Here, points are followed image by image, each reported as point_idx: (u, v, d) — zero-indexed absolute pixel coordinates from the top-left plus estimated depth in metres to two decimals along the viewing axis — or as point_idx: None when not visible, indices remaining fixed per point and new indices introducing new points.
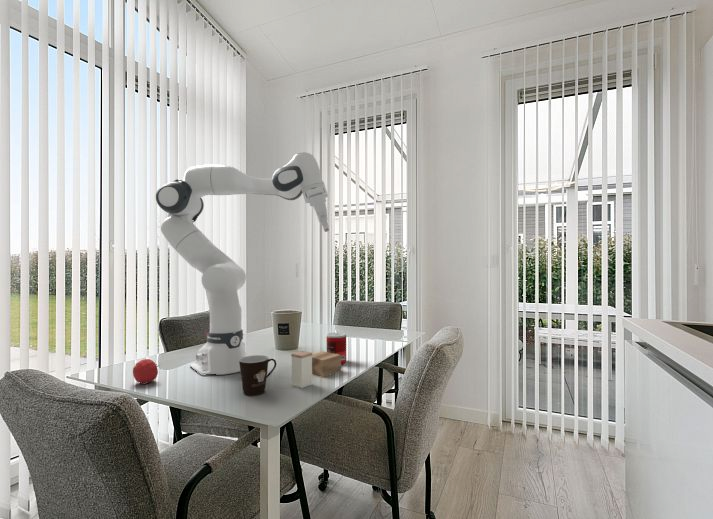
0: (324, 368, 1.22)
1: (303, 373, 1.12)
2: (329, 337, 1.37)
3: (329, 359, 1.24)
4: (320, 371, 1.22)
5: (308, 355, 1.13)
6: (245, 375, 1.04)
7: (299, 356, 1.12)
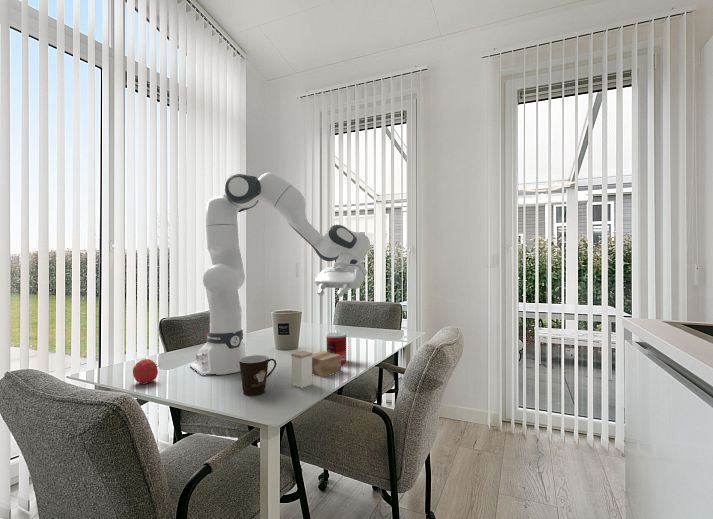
0: (324, 368, 1.22)
1: (303, 373, 1.12)
2: (329, 337, 1.37)
3: (329, 359, 1.24)
4: (319, 371, 1.22)
5: (308, 355, 1.13)
6: (245, 375, 1.04)
7: (299, 356, 1.12)
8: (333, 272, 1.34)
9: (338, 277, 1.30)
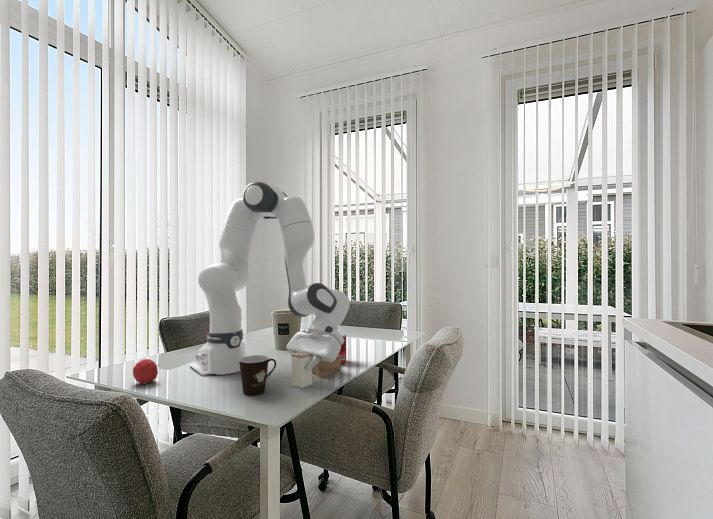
0: (321, 368, 1.22)
1: (303, 373, 1.12)
2: None
3: None
4: (317, 370, 1.23)
5: (308, 355, 1.13)
6: (245, 375, 1.04)
7: (299, 356, 1.12)
8: (307, 338, 1.20)
9: (311, 347, 1.16)
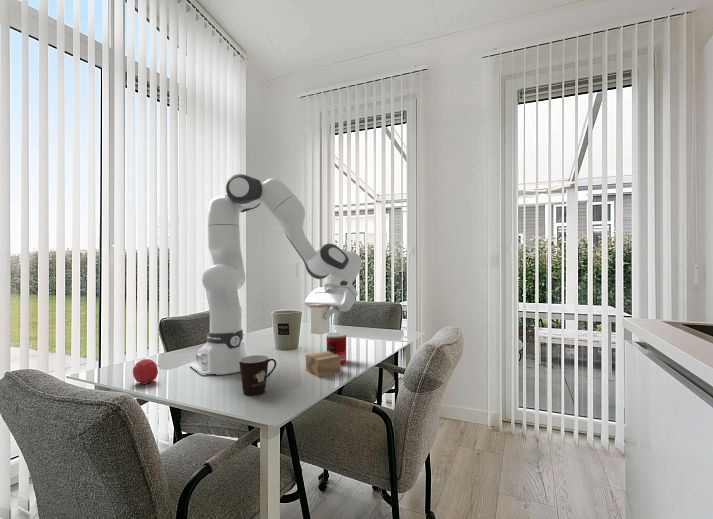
0: (319, 368, 1.22)
1: (321, 321, 1.23)
2: (329, 337, 1.37)
3: (325, 359, 1.23)
4: (315, 370, 1.23)
5: (325, 305, 1.25)
6: (245, 375, 1.04)
7: (317, 306, 1.23)
8: (323, 293, 1.32)
9: (328, 299, 1.27)
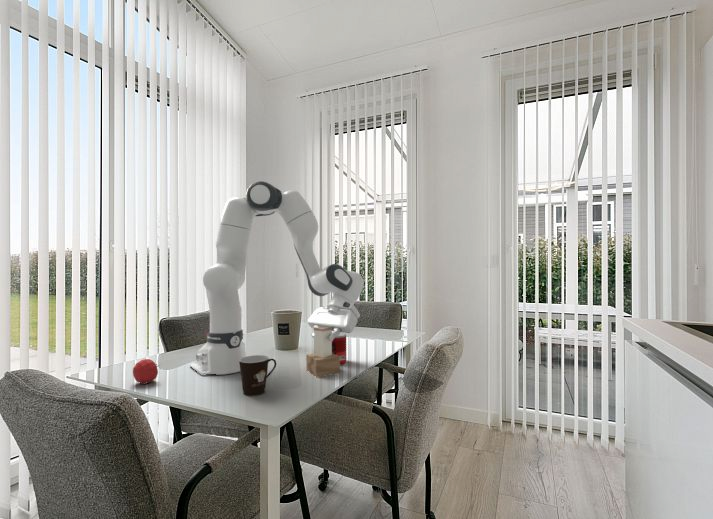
0: (318, 368, 1.22)
1: (324, 344, 1.25)
2: None
3: (324, 360, 1.23)
4: (314, 370, 1.23)
5: (328, 329, 1.27)
6: (245, 375, 1.04)
7: (321, 329, 1.25)
8: (326, 313, 1.34)
9: (330, 320, 1.30)
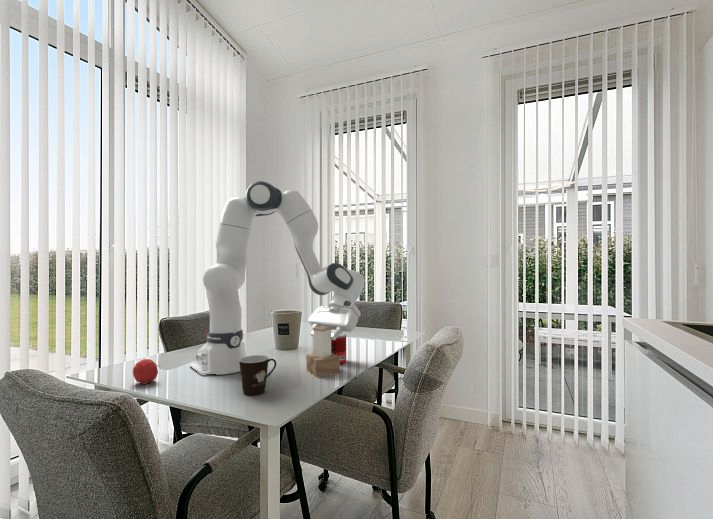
0: (317, 368, 1.22)
1: (323, 344, 1.25)
2: None
3: (324, 360, 1.23)
4: (314, 370, 1.23)
5: (328, 329, 1.27)
6: (245, 375, 1.04)
7: (320, 329, 1.25)
8: (327, 312, 1.34)
9: (331, 319, 1.30)
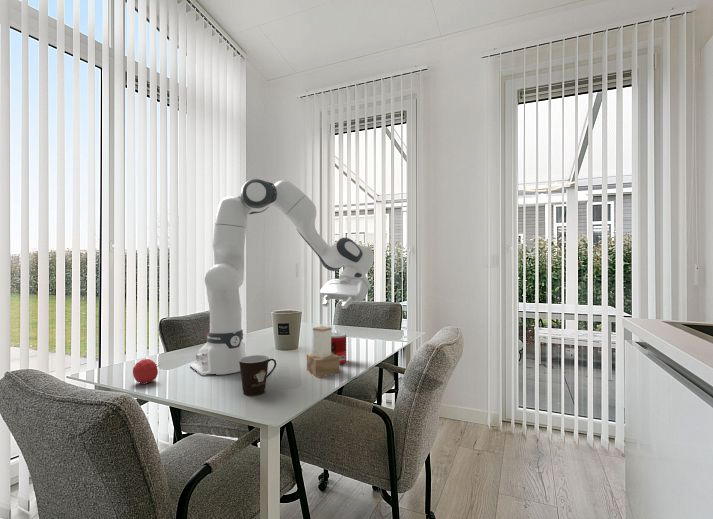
0: (317, 368, 1.22)
1: (323, 345, 1.25)
2: None
3: (324, 360, 1.23)
4: (314, 370, 1.23)
5: (328, 329, 1.27)
6: (245, 375, 1.04)
7: (320, 330, 1.25)
8: (338, 284, 1.40)
9: (342, 289, 1.35)
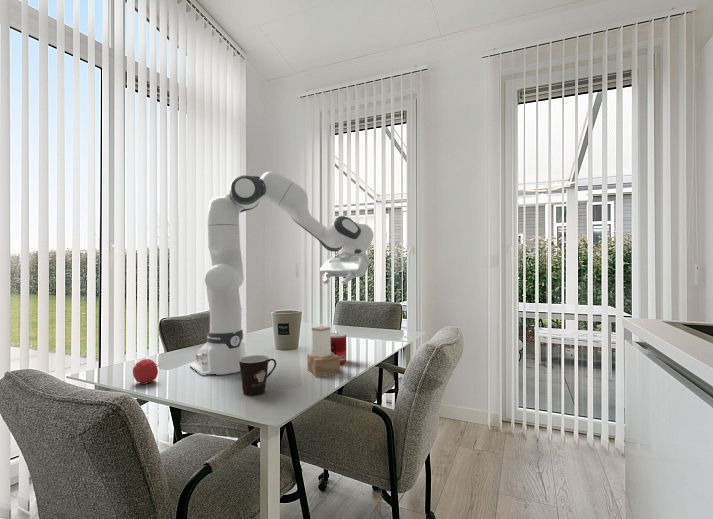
0: (317, 368, 1.22)
1: (322, 344, 1.25)
2: None
3: (323, 360, 1.23)
4: (314, 370, 1.23)
5: (327, 329, 1.27)
6: (245, 375, 1.04)
7: (319, 329, 1.25)
8: (338, 261, 1.40)
9: (342, 266, 1.35)
